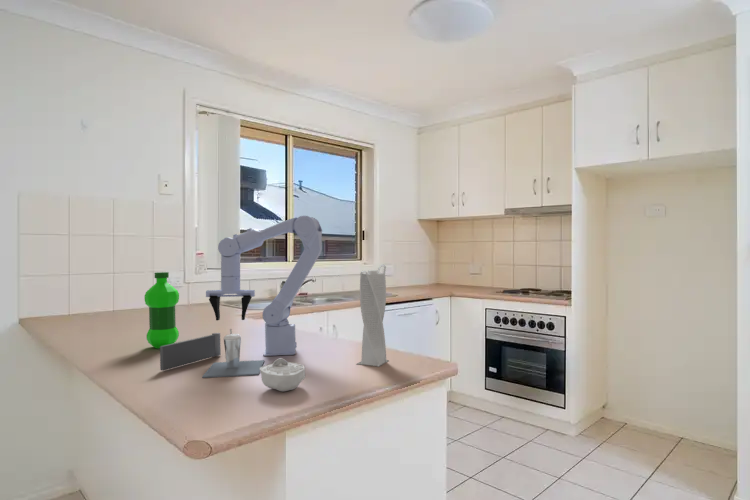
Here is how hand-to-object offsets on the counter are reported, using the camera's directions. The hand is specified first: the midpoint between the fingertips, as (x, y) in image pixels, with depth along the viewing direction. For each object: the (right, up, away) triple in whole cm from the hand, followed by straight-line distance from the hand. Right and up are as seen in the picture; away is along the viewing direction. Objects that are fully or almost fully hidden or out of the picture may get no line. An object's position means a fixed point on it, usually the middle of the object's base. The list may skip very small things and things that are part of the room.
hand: (230, 319), depth 144 cm
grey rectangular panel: (-7, -10, -12) cm, 17 cm away
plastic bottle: (-26, -11, +11) cm, 30 cm away
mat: (+7, -11, -19) cm, 23 cm away
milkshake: (+6, -10, -18) cm, 22 cm away
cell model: (+24, -11, -37) cm, 45 cm away
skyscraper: (+45, -10, -15) cm, 49 cm away
